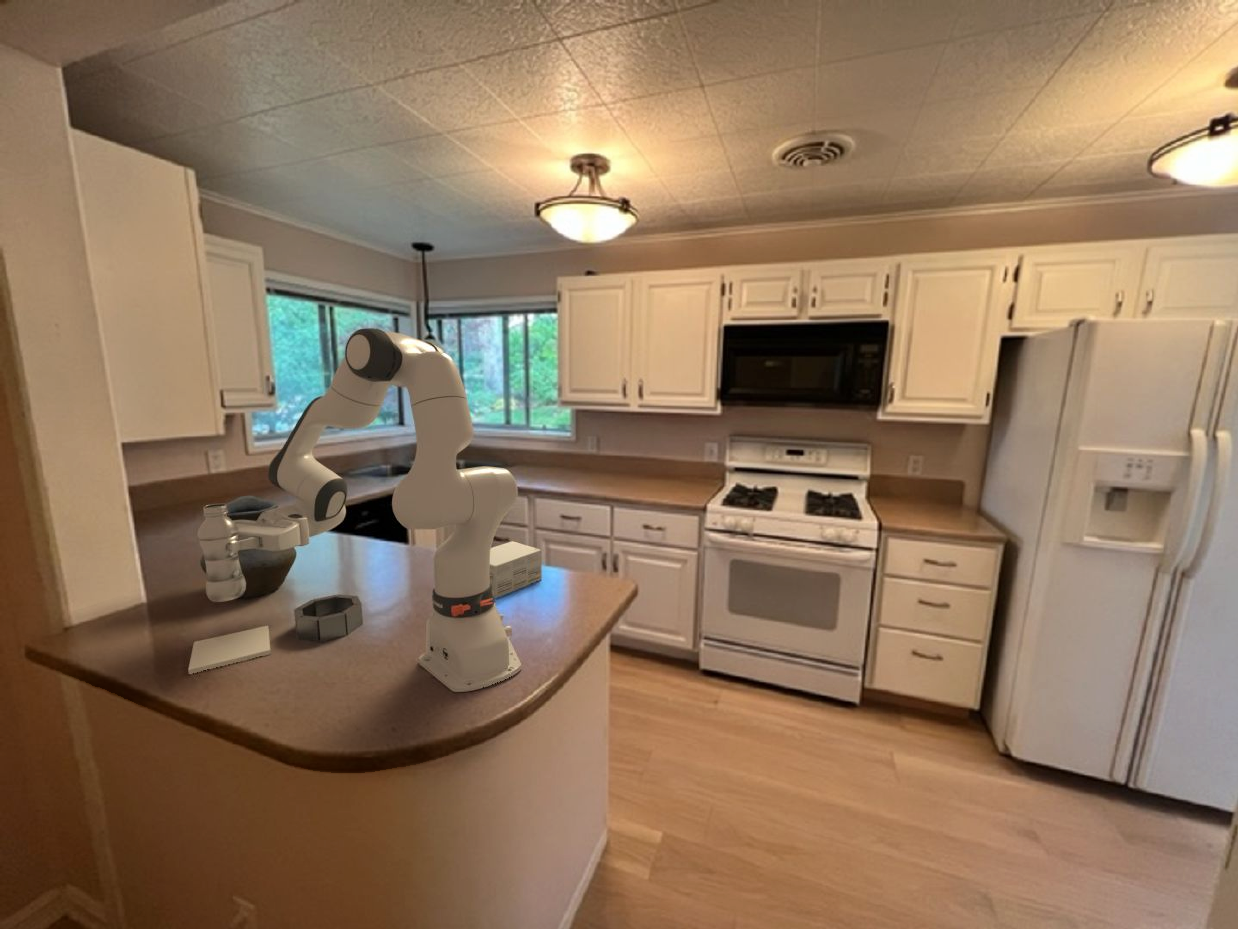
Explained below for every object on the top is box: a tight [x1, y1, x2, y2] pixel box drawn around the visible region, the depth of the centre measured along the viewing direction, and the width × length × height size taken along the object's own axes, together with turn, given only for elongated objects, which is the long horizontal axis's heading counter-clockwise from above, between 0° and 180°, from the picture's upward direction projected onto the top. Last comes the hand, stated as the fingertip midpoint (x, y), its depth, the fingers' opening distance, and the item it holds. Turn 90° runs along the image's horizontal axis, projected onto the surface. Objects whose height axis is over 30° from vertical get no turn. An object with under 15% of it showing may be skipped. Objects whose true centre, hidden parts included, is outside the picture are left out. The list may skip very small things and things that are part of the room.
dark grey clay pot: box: [199, 495, 297, 600], centre depth 134 cm, size 21×22×25 cm
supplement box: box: [490, 540, 543, 599], centre depth 143 cm, size 17×13×9 cm
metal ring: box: [293, 594, 364, 643], centre depth 116 cm, size 13×13×5 cm
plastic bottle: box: [196, 503, 246, 603], centre depth 102 cm, size 6×7×20 cm
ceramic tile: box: [187, 625, 272, 675], centre depth 105 cm, size 13×13×1 cm
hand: (215, 546), depth 101 cm, fingers closed on plastic bottle, 6 cm apart
